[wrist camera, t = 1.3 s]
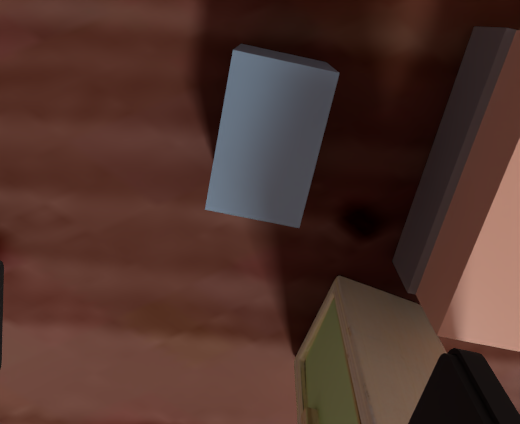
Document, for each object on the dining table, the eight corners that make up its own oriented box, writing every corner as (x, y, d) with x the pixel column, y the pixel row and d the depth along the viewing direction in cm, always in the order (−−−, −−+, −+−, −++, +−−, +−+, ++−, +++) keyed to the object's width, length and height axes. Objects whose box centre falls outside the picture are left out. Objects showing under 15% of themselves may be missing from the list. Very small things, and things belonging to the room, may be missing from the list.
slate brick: (241, 43, 27) (232, 49, 22) (326, 62, 28) (339, 73, 22) (217, 174, 30) (205, 209, 25) (294, 190, 31) (299, 228, 25)
